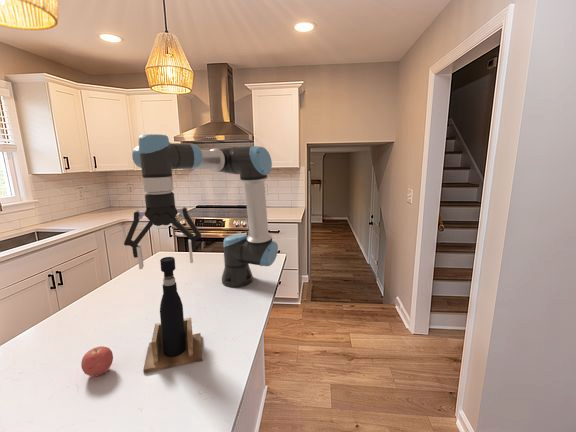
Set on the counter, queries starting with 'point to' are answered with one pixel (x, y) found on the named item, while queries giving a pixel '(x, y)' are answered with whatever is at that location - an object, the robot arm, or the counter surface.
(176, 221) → the robot arm
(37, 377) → the counter surface
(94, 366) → the apple
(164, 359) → the u rest
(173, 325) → the wine bottle
